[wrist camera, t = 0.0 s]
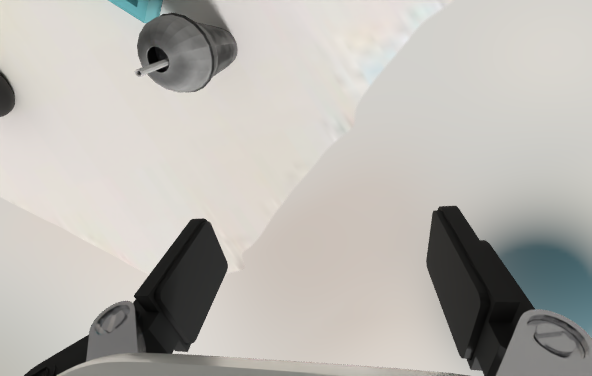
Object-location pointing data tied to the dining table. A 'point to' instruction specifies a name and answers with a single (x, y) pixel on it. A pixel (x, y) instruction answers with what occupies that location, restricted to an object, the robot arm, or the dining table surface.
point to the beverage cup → (183, 52)
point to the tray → (140, 8)
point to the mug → (5, 97)
